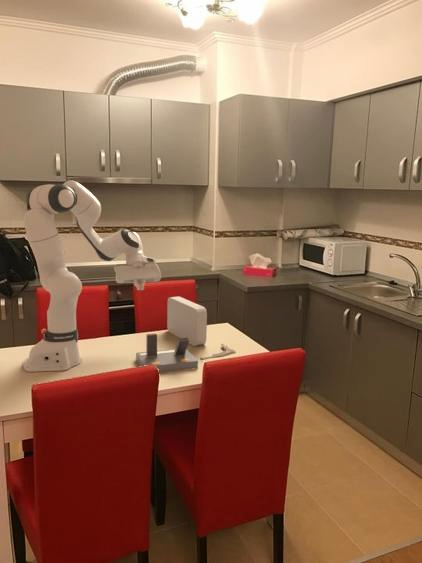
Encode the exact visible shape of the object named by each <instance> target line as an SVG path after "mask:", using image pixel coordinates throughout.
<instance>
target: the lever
mask: <svg viewBox="0 0 422 563" xmlns="http://www.w3.org/2000/svg"><path fill="white" fill-rule="evenodd" d="M177 338H178V339H177V343H176V346H175V348H174V349H175V351H174V355H179V354H185V352H186V349H188V345H189V343H188V342H189V340H188V338H179V337H177Z"/></svg>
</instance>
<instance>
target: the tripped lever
mask: <svg viewBox="0 0 422 563" xmlns="http://www.w3.org/2000/svg"><path fill="white" fill-rule="evenodd" d="M145 343H146V346H145V347H146V348H145V349H146V351H145V352H146V358H149V357H158V354H157V351H158V334H157V333H147V334H146V342H145Z"/></svg>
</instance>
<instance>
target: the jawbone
mask: <svg viewBox="0 0 422 563" xmlns="http://www.w3.org/2000/svg"><path fill="white" fill-rule="evenodd" d="M220 345H221V347H222V348H223V351H221V352H218V353H214V354H212V355H210V356H204V357H202V356H201V357H200V358H199V359H201V361H205V360H208V359H214V358H215V359H216V358H222V357H223V358H224V357H228V356H230V355H233V354H236V350H234V349H233V348H229V347H228V346H227V345H225V344H224V343H221V344H220ZM204 359H205V360H204Z"/></svg>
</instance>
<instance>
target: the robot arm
mask: <svg viewBox="0 0 422 563" xmlns="http://www.w3.org/2000/svg"><path fill="white" fill-rule="evenodd" d="M26 193H27V194H26V198H25V200H26V210H27V211H26V212H25V213H24V216H23V224H24V228H25V233H26V236H27V239H28V241H29V244H30V247H31V251H32V253H33V257H34V258H35V261H36V266H37V270H38V275H39V282H40V285H41V286H42V288H43V289H44V290H45V291H47V293H49V295H50V298H49V299H50V301H49V306H48V309H47V312H46V317H47V318H46V319H47V329H46V328H42V329H41V334H42V339H41V340H40V341H39V342H37V343H36V344H35V345H33V346H32V347H31V348H30V351H29V354H28V357H27V358H26V359H24V360H23V362H22V363H23V364H22V367H23V370H24V371H26V372H29V373H31V372H32V373H33V372H57V371H58V372H59V371H68V370H69V369H71V368H73V367H75V366H78V365H80V363H81V362H82V357H81V354H80V351H79V345H78V340H79V332H78V331H79V330H78V327H77V305H78V302H79V301H78V299H79V296H80V294H81V293H82V289H83V284H82V281H81V280H80V278H79V277H78V276H77V275H76V274H75V273H74V272H72V271H69V270H68V268H67V266H66V260H65V253H66V252H65V249H64V246H63V243H62V240H61V237H60V234H59V232H58V229H57V226H56V225H55V214H64V213H67V212H69V211H70V212H71V213H72V214H73V215H74V216H75V217H76V226H77V228H78V230H79V232H80V233H81V234H82V235H83V237H85V239H86V240H87V242H88V243H89V244H90V246H91V247H92V248H93V249H94V251H95V253H96V255H97V256H98V257H99V258H100V259H101V260H102V261H104V262H105V261H106V262H111V261H112V260H115V259H116V258H117V257H119V256H120V255H122V254H125V263H117V264H116V265H114V266H113V271H114V273H115V282H116V283H117V284H133V285H134V286H135V287H136V290H137V291H144V290H145V285H146V283H156V282H161V281H160V280H161V279H162V272H161V270H160V267H159V265H158V264H157V260H156V259H155V258H153V257H149V256H145V254H144V246H143V242H142V240H141V237H140V235H139V234H138V233H137V232H135V231H131V230H129V229H127V228H126V229H125V228H121V229H120V230H117V231H116V232H114V233H112V234H111V235H109V236H107V237H105V238H101V237H100V236H99V234H98V233H97V232H96V231H95V229H94V228H93V227H94V225H96V223H97V222H98V220H99V219H100V217H101V213H102V205H101V202H100V201H99V200H98V199H97V197H96V196H95V195H94V194H93V193H92V192H91V191H89V189H87V188H86V187H85V186H84V185H82V184H81V183H79V182H77V181H75V180H67V181H65V182H64V183H63V184H59V183H58V184H43V185H37V186H34V187H32V188H31V189H30V190H28V192H26ZM139 283H141V284H139Z"/></svg>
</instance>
